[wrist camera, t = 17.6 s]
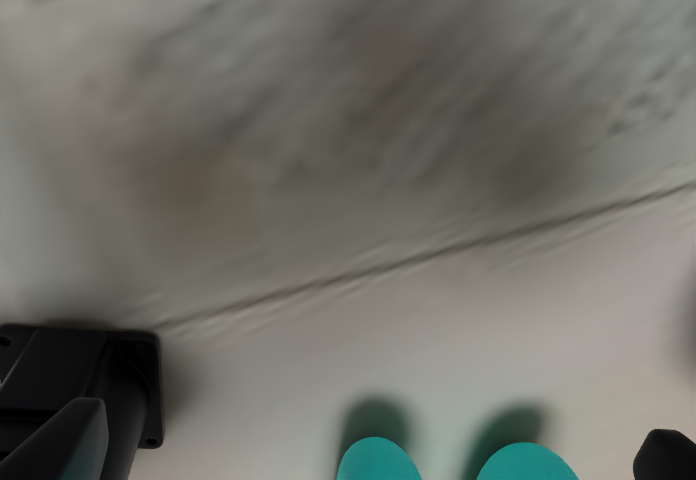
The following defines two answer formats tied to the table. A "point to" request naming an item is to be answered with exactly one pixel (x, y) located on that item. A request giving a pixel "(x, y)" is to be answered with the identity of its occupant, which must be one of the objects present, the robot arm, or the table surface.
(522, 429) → the table surface
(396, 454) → the donuts
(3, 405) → the robot arm
